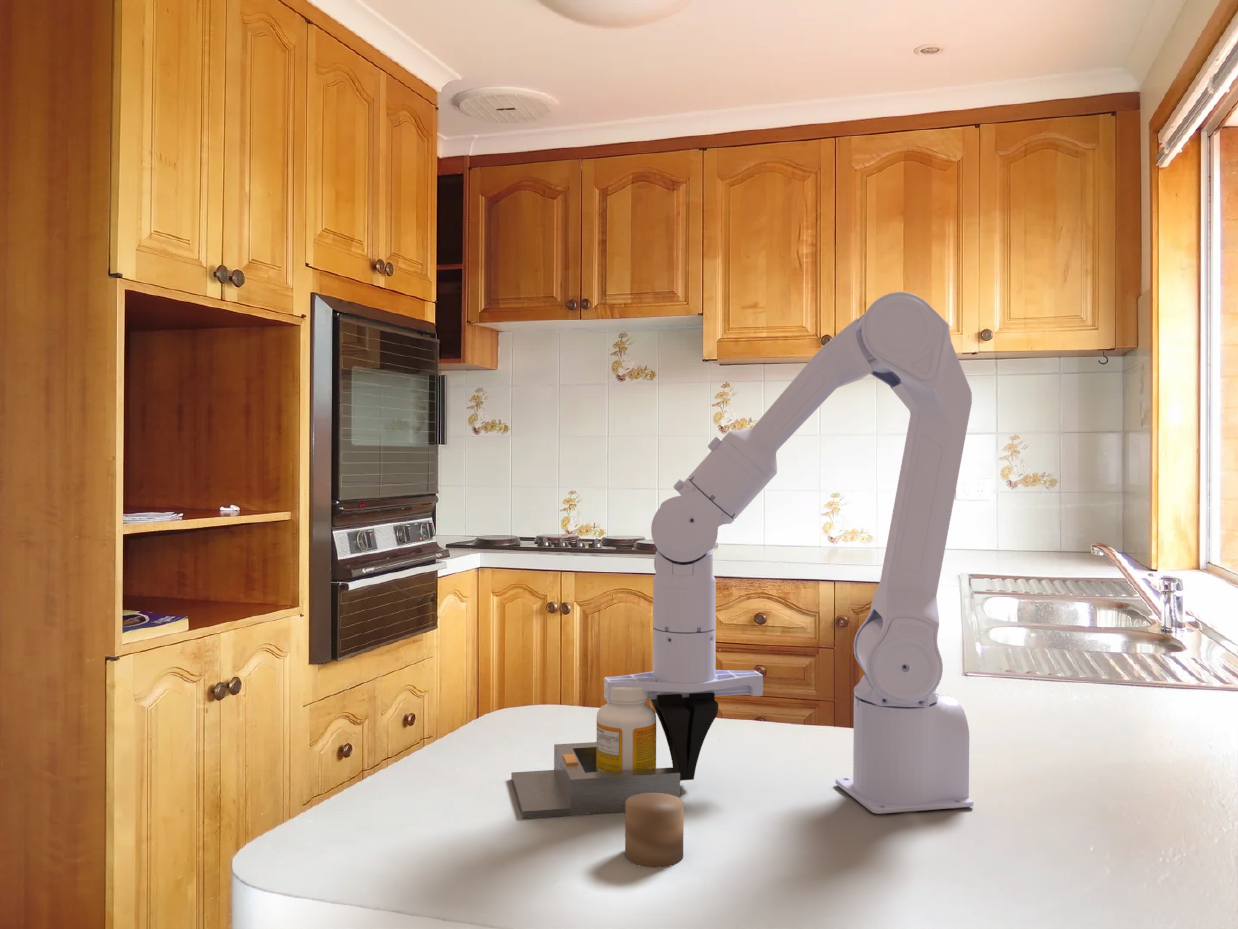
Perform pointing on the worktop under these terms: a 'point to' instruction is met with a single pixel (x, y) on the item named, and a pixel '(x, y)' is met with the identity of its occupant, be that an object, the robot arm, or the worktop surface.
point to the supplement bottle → (626, 731)
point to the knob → (654, 829)
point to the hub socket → (586, 785)
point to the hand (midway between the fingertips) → (683, 776)
